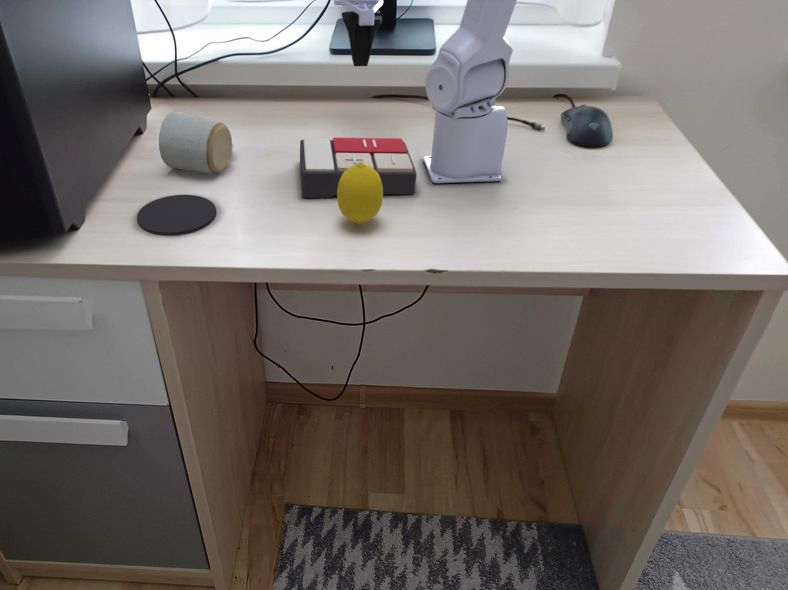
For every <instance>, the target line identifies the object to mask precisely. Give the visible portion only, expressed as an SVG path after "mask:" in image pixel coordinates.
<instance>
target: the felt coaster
mask: <svg viewBox="0 0 788 590" xmlns="http://www.w3.org/2000/svg"><path fill="white" fill-rule="evenodd" d="M216 216H217V207H216V205H215V203H214V202H213V201H211V200H210V199H208V198H205V197H204V196H199V195H194V194H175V195H174V194H173V195H167V196H163V197H159V198H157V199H154V200H152V201H150V202H147V203H146V204H145V205H143V206H142V207H141V208H140V209H139V210H138V212H137V214H136V222H137V224H138V226H139V227H140V228H141V229H143V231H146V232H148V233H151V234H155V235H160V236H180V235H185V234H190V233H194V232H197V231H199V230H201V229H204V228H205V227H208V225H210V224H211V223H212V222H213V221H214V220H215V218H216Z"/></svg>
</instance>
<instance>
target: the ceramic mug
mask: <svg viewBox="0 0 788 590" xmlns="http://www.w3.org/2000/svg"><path fill="white" fill-rule="evenodd" d="M233 148H234V145H233V139H232V134H231V131H230V129H229V128H228V126H227V125H226V124H225V123H223V122H221V121H218V120H216V119H212V118H208V117H202V116H198V115H194V114H190V113H187V112H182V111H177V110H173V111H171V112H169V113H168V114H167V115H166V116H165V118H164V119H163V121H162V123H161V126H160V129H159V134H158V150H159V154H160V158H161V159H162V162H163V163H164V164H165V165H166V166H167V167H169V168H173V169H178V170H179V169H180V170H186V171H190V172H191V171H192V172H198V173H203V174H219V173H221V172H222V171H223V170H224V169H225V168H227V166H228V164H229V161H230V159H231V155H232V154H233V150H234V149H233Z"/></svg>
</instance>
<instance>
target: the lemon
mask: <svg viewBox="0 0 788 590" xmlns="http://www.w3.org/2000/svg"><path fill="white" fill-rule="evenodd" d="M383 198H384V194H383V186H382V182H381V179H380V176H379V174H378V173H377V172H376V171H375V170H374V169H373V168H372V167H370V166H368V165H365V164H364V163H362V162H359V163H358V164H356V165H353V166H351V167H349V168H348V169H347V170H345V172H344V173H343V174H342V176H341V178H340V181H339V184H338V189H337V194H336V200H337V206H338V208H339V210H340V212H341V214H342V215H343V217H345V218H346V219H347V220H349V221H351V222H354V223H355V224H356V225H357V226H359V225H362V224H364V223H366V222H368V221H371V220H372V219H374V218H375V217H376V216H377V215H378V214H379V212H380V210H381V207H382V206H383V205H382V204H383V201H384V199H383Z"/></svg>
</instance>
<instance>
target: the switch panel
mask: <svg viewBox="0 0 788 590" xmlns="http://www.w3.org/2000/svg"><path fill="white" fill-rule="evenodd" d="M359 162H362V163H364V164H365V165H368V166H370V167H372V168H373V169H374V170H375V171H376V172H377V173H378V174H379V176H380V179H381V182H382V186H383V195H413V194H415V190H416V182H417V175H418V174H417V173H418V172H417V170H416V168H415V165H414V163H413V159H412V157H411V155H410V152H409V149H408V146H407V144H406V142H405V141H404V139H403V138H400V137H399V138H398V137H397V138H395V137H393V138H392V137H389V138H388V137H333V138H332V139H330V138H313V137H312V138H310V137H308V138H307V137H306V138H303V139H300V142H299V170H300V171H299V172H300V186H301V187H300V188H301V189H300V190H301V196H302V198H305V199H306V198H309V199H310V198H312V199H313V198H315V199H317V198H318V199H320V198H321V199H329V198H332V197H334V196H335V195H336V196H337V189H338V184H339V181H340V178H341V176H342V174H343V173H344V172H345V170H347V169H348V168H349V167H351V166H353V165H356V164H358V163H359Z"/></svg>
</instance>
